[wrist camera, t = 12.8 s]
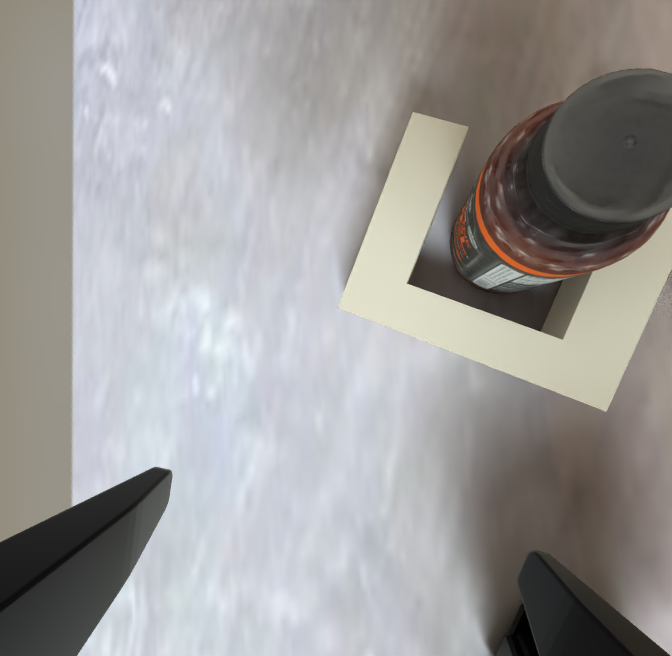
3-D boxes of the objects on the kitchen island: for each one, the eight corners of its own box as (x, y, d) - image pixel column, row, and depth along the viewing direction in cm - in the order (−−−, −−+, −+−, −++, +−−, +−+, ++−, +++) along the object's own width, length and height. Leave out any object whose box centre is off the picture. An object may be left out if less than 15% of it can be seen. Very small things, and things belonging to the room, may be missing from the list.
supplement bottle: (450, 194, 20) (513, 31, 9) (560, 193, 19) (783, 7, 8) (444, 293, 20) (498, 253, 9) (552, 298, 19) (763, 258, 8)
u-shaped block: (657, 212, 18) (706, 190, 15) (574, 398, 19) (606, 411, 16) (410, 142, 21) (412, 111, 18) (346, 310, 21) (337, 307, 18)
